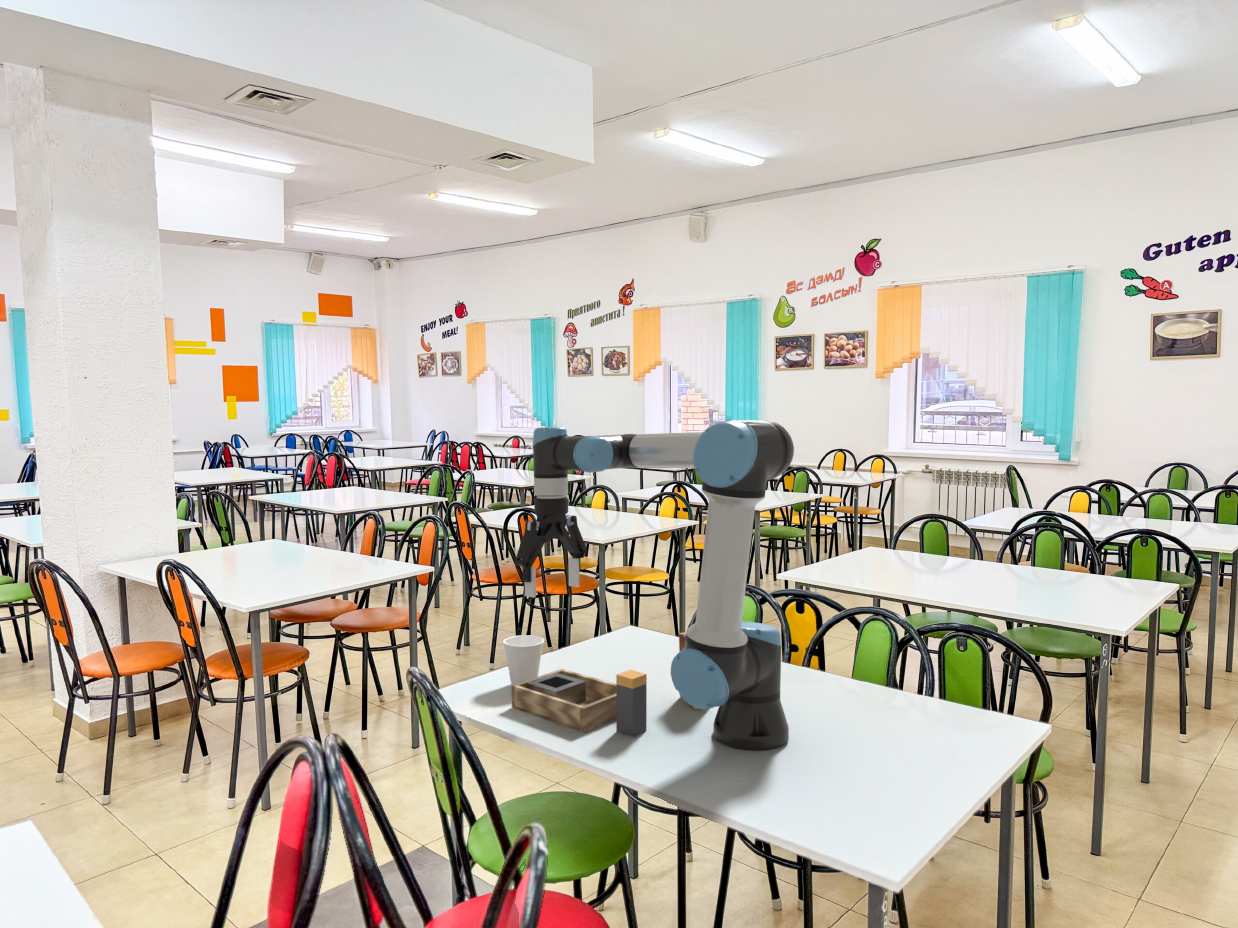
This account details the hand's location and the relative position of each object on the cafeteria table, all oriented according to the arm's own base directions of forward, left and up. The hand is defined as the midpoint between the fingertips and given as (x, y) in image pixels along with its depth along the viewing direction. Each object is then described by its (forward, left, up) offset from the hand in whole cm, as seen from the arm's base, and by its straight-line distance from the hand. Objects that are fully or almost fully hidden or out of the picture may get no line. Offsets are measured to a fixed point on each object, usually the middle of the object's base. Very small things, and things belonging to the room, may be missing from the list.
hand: (552, 591), depth 189 cm
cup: (+15, -4, -26) cm, 30 cm away
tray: (-5, 0, -26) cm, 26 cm away
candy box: (-23, -21, -26) cm, 41 cm away
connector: (-23, +1, -26) cm, 35 cm away
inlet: (0, 0, -26) cm, 26 cm away
